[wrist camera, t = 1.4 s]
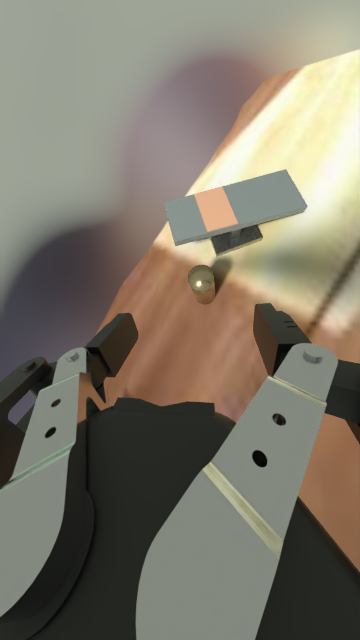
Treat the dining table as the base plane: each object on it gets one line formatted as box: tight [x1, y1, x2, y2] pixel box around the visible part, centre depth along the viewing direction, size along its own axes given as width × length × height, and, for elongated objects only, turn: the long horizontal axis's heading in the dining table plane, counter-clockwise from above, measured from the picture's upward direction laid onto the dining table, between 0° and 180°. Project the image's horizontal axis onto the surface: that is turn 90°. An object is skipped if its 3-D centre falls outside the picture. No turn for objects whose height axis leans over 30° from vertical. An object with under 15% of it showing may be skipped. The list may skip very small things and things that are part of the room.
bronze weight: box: [188, 265, 215, 304], centre depth 32 cm, size 4×4×9 cm
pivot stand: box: [210, 225, 262, 257], centre depth 36 cm, size 10×12×5 cm
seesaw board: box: [164, 169, 307, 246], centre depth 32 cm, size 26×10×1 cm, turn 104°
